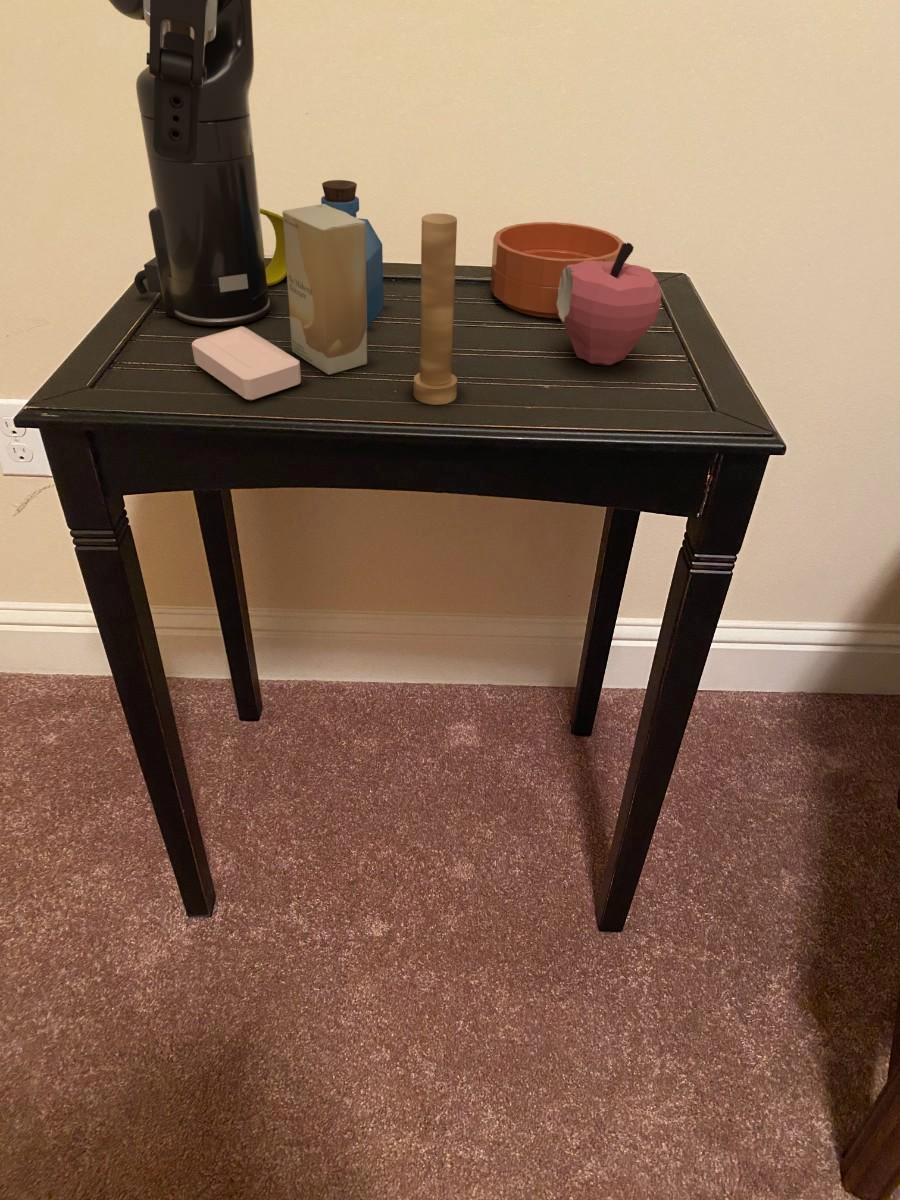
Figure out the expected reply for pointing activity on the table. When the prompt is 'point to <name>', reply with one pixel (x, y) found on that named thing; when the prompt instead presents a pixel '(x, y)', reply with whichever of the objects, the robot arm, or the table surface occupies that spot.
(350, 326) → the cosmetic box
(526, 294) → the bowl
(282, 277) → the bracelet
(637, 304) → the apple
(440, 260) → the stick
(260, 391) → the soap bar
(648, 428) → the table surface
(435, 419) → the table surface
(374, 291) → the blue potion bottle
